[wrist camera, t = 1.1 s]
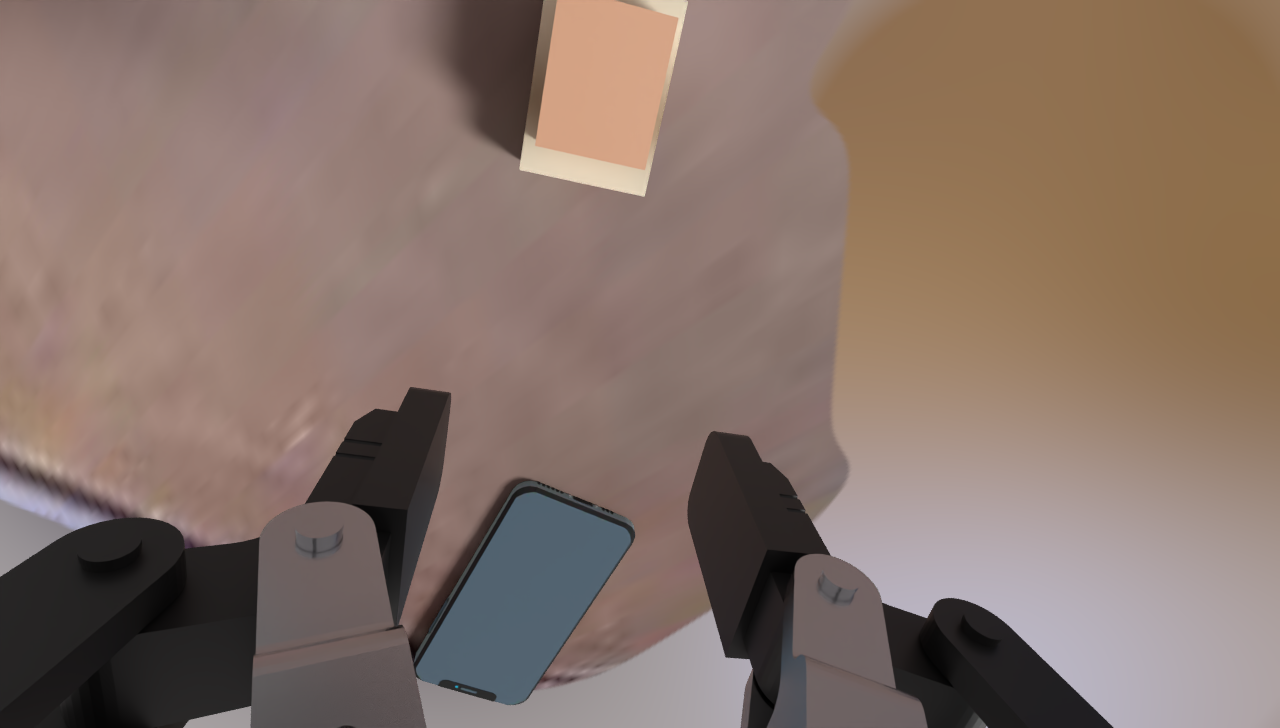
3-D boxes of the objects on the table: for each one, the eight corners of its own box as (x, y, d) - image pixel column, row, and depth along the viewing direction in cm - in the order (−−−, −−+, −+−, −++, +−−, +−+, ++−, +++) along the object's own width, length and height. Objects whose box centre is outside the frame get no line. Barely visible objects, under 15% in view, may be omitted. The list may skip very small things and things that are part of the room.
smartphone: (644, 532, 34) (522, 712, 39) (640, 513, 36) (523, 689, 40) (519, 481, 32) (404, 679, 36) (520, 464, 34) (410, 655, 38)
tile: (559, -8, 22) (559, -15, 20) (669, 22, 23) (678, 18, 21) (537, 140, 24) (535, 145, 22) (638, 163, 24) (644, 170, 23)
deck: (550, -27, 24) (549, -38, 21) (676, 8, 25) (688, 1, 22) (522, 161, 26) (519, 170, 24) (637, 186, 27) (644, 196, 25)
